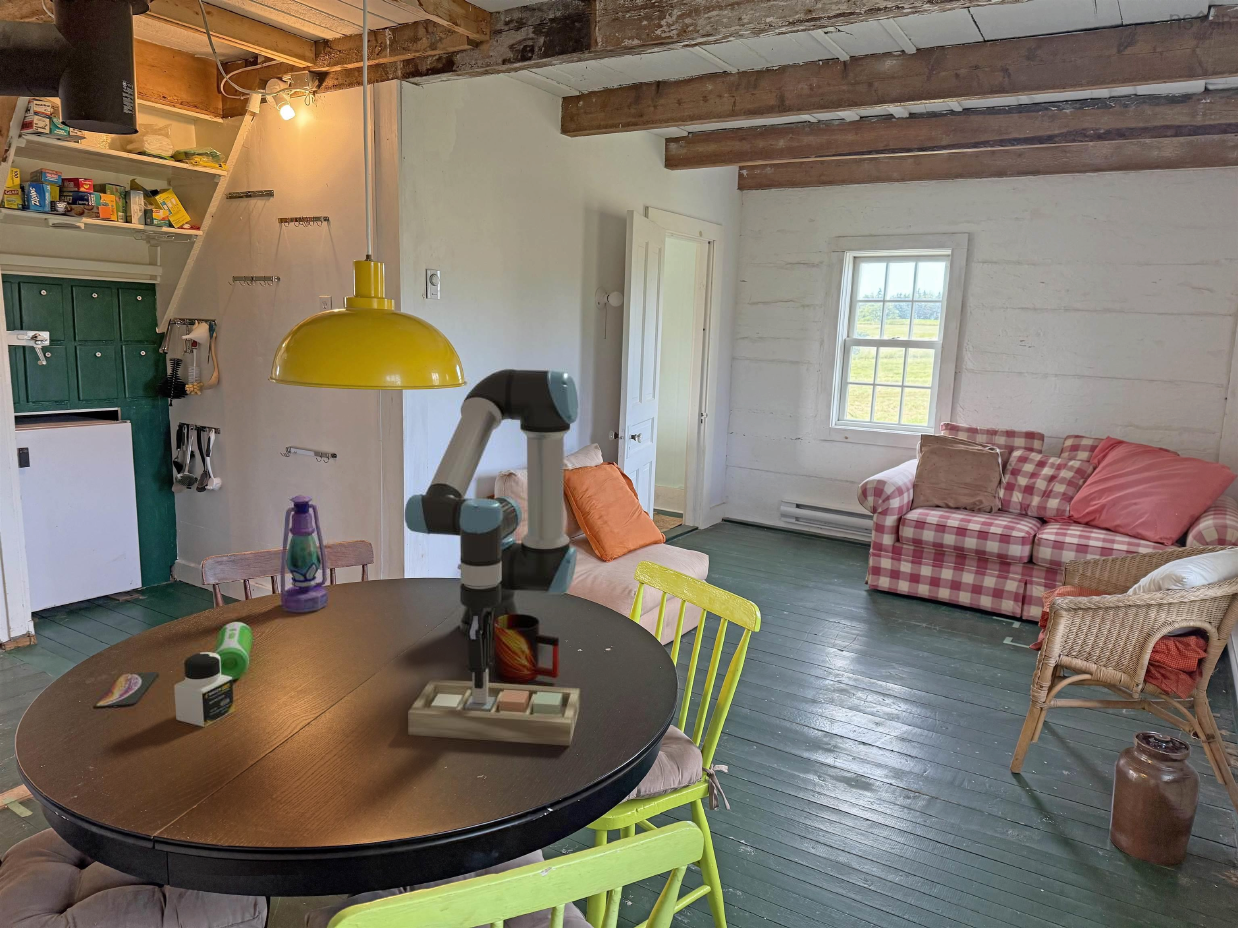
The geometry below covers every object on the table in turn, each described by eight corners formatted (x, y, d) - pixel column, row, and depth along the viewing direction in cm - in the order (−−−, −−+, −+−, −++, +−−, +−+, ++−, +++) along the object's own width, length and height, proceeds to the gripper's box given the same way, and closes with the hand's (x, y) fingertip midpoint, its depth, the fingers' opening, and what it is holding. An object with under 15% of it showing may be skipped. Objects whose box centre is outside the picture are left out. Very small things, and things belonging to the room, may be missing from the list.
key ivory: (438, 703, 158) (438, 693, 158) (462, 704, 158) (462, 695, 158) (431, 714, 154) (430, 704, 153) (456, 716, 153) (456, 706, 153)
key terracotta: (504, 699, 157) (504, 689, 157) (528, 700, 157) (528, 691, 156) (498, 710, 152) (499, 700, 152) (524, 712, 152) (524, 702, 152)
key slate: (471, 705, 158) (471, 695, 158) (495, 706, 158) (495, 697, 157) (464, 716, 153) (464, 707, 153) (489, 718, 153) (490, 708, 152)
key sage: (537, 701, 157) (537, 691, 156) (562, 702, 156) (562, 693, 156) (533, 713, 152) (533, 703, 152) (558, 714, 152) (558, 704, 151)
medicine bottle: (204, 727, 150) (201, 666, 148) (175, 720, 152) (171, 659, 150) (235, 711, 156) (231, 652, 154) (206, 704, 159) (203, 646, 157)
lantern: (296, 618, 204) (292, 502, 199) (268, 608, 210) (263, 495, 205) (340, 604, 215) (337, 493, 210) (312, 595, 221) (308, 487, 216)
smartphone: (91, 706, 155) (120, 673, 170) (92, 711, 155) (121, 677, 170) (134, 703, 157) (160, 670, 171) (135, 707, 157) (160, 674, 171)
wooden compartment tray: (431, 700, 163) (431, 679, 163) (579, 709, 161) (579, 688, 161) (408, 734, 150) (408, 711, 149) (570, 745, 148) (570, 722, 147)
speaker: (218, 652, 183) (217, 620, 182) (254, 648, 186) (252, 617, 184) (210, 685, 167) (208, 650, 165) (249, 680, 169) (247, 646, 168)
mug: (558, 683, 173) (559, 630, 171) (492, 684, 171) (493, 630, 169) (557, 664, 182) (558, 613, 180) (495, 665, 181) (495, 614, 179)
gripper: (469, 571, 158) (469, 684, 162) (451, 592, 145) (451, 715, 149) (507, 573, 157) (506, 687, 161) (492, 595, 144) (492, 718, 148)
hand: (480, 700), depth 155 cm, fingers closed
